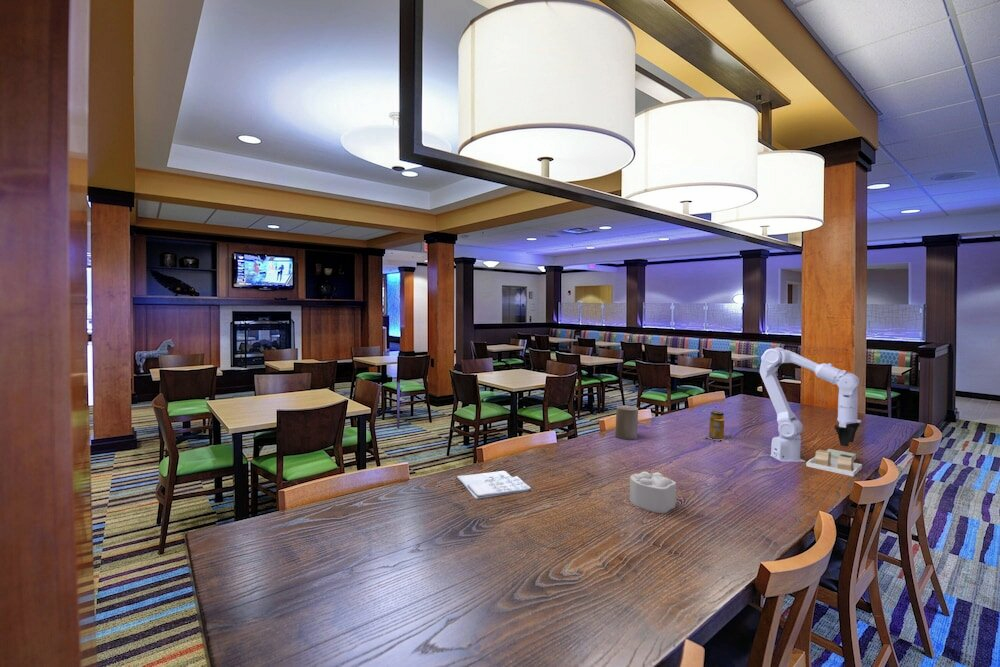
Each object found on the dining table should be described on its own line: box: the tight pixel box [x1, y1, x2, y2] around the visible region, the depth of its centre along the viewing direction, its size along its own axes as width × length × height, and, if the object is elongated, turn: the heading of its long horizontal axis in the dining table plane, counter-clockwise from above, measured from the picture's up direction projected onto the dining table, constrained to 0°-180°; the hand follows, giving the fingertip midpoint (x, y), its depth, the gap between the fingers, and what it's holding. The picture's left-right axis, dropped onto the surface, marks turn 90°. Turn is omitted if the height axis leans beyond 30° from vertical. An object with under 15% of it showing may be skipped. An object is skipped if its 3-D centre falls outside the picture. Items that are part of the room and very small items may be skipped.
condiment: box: [703, 410, 725, 439], centre depth 216 cm, size 7×8×12 cm
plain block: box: [814, 449, 831, 467], centre depth 178 cm, size 4×4×5 cm
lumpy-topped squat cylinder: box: [629, 471, 677, 514], centre depth 143 cm, size 10×13×9 cm
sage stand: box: [825, 448, 857, 461], centre depth 186 cm, size 9×9×2 cm
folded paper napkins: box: [456, 470, 532, 500], centre depth 158 cm, size 19×20×2 cm
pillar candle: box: [615, 405, 639, 441], centre depth 217 cm, size 10×10×15 cm
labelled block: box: [837, 454, 855, 471], centre depth 173 cm, size 4×4×5 cm
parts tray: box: [805, 456, 863, 478], centre depth 176 cm, size 14×13×2 cm
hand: (846, 443), depth 173 cm, fingers open, 7 cm apart
